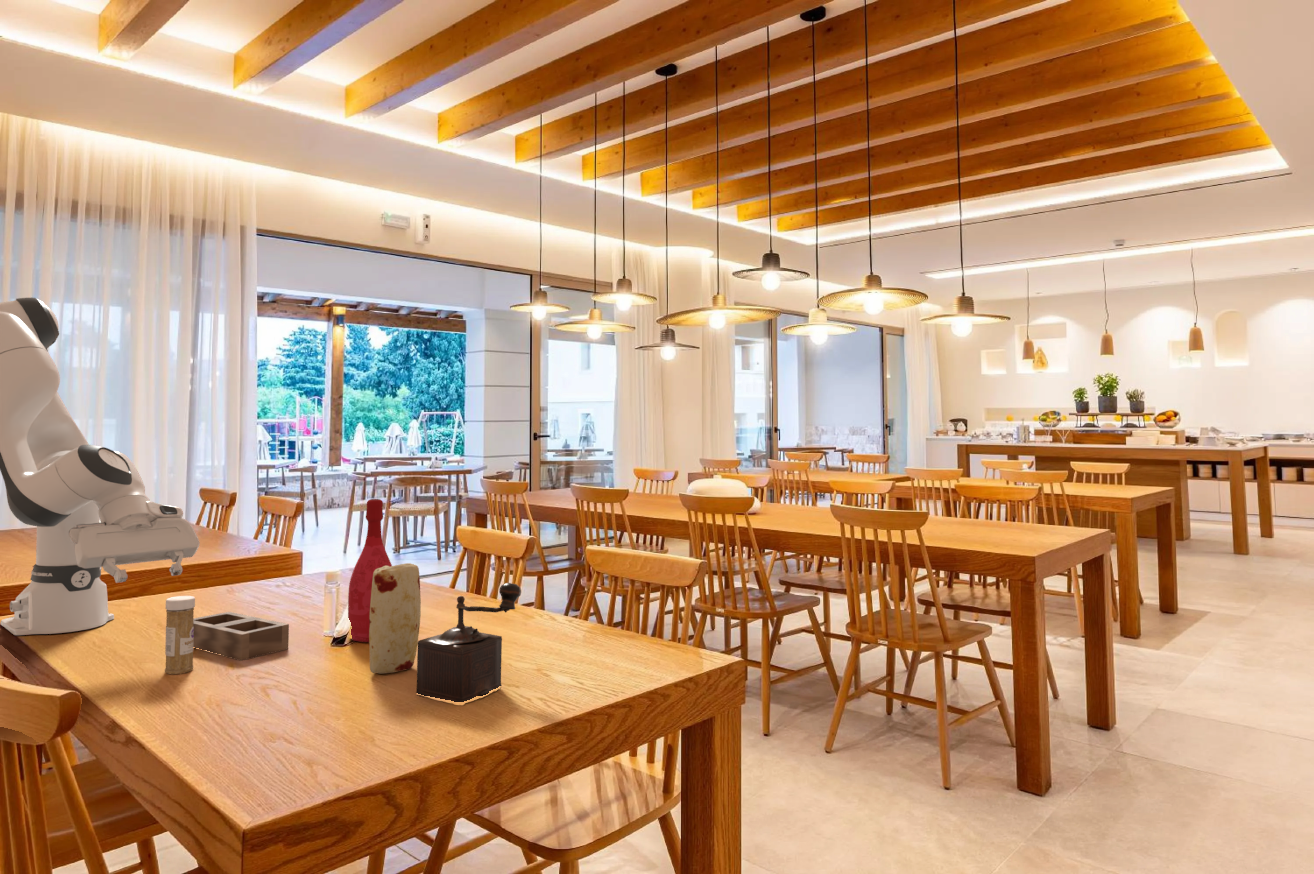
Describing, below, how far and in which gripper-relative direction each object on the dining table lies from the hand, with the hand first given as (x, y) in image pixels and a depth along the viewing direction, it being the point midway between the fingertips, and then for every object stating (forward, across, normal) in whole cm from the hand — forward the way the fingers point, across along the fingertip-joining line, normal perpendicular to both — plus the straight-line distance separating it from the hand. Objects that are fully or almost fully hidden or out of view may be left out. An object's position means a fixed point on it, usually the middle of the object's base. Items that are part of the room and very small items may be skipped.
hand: (150, 576), depth 146 cm
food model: (+40, +25, -17) cm, 50 cm away
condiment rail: (+13, +15, +10) cm, 22 cm away
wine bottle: (+23, +37, 0) cm, 43 cm away
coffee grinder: (+53, +27, -30) cm, 67 cm away
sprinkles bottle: (+19, +1, +4) cm, 19 cm away
